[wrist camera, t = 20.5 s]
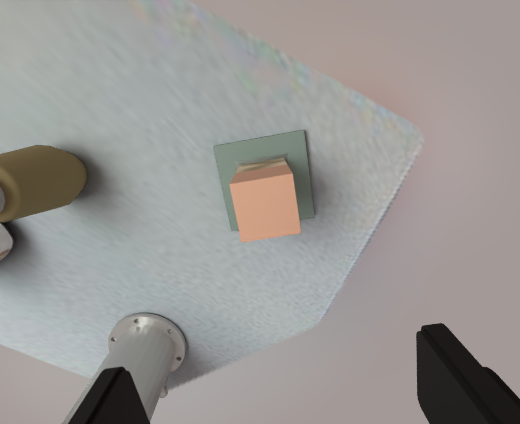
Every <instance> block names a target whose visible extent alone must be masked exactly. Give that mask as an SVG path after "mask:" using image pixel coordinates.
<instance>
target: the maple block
mask: <svg viewBox="0 0 520 424" xmlns="http://www.w3.org/2000/svg"><path fill="white" fill-rule="evenodd" d="M286 164H287V163H286V161H285V159H284V158H281V159H275V160H269V161H264V162H258V163H252V164H246V165H241V166H239V167H238V169H237V171H236V173H240V172H246V171H252V170H258V169H263V168H269V167H275V166H280V165H286Z"/></svg>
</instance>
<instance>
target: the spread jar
mask: <svg viewBox="0 0 520 424" xmlns="http://www.w3.org/2000/svg"><path fill="white" fill-rule="evenodd" d="M13 246H14V237H13V235H12V233H11V231H10V230H9V228H8V227H7V226H6V225H5V224H4V223H3V222H0V260H1V259H3V258H4V257H5V256H7V255H8V254H9V252H10V251H11V250H12V248H13Z"/></svg>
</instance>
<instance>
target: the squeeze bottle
mask: <svg viewBox="0 0 520 424" xmlns="http://www.w3.org/2000/svg"><path fill="white" fill-rule="evenodd" d="M86 181H87V171H86V169H85V167H84V165H83V163H82V162H81V161H80V160H79V159H78V158H77V157H76V156H75V155H73V154H71V153H69V152H66V151H63V150H60V149H57V148H54V147H52V146H44V145H35V146H31V147H27V148H23V149H19V150H15V151H11V152H7V153H3V154H0V222H7V221H11V220H14V219H18V218H22V217H26V216H29V215H33V214H37V213H41V212H44V211H48V210H52V209H55V208H59V207H62V206H65V205H68V204H70V203H71V202H72V201H73V200H74V199H75V198H76V197H77V196H78V194H79V193H80V192H81V190H82V189H83V188H84V186H85V184H86Z"/></svg>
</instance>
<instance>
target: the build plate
mask: <svg viewBox="0 0 520 424" xmlns="http://www.w3.org/2000/svg"><path fill="white" fill-rule="evenodd" d="M213 149H214V154H215V158H216V163H217V167H218V172H219V176H220V181H221V185H222V190H223V195H224V199H225V204H226V208H227V213H228V217H229V222H230V227H231V231H234V230H239V228H238V223H237V219H236V214H235V209H234V204H233V200H232V195H231V190H230V186H229V184H230V182H231V180H232V178H233V176H234V175H235V173H236V171H237V169H238V167H239V166H241V165H246V164H252V163H258V162H264V161H269V160H275V159H281V158H284V159H285V161H286V163H287V165H288V166H289V168H290V170H291V171H292V173H293V180H294V187H295V193H296V200H297V207H298V214H299V220H302V219H308V218H314V217H315V215H314V207H313V199H312V191H311V183H310V175H309V167H308V159H307V151H306V143H305V135H304V130H300V131H294V132H289V133H283V134H278V135H272V136H267V137H261V138H256V139H250V140H244V141H239V142H233V143H228V144H222V145H217V146H213Z"/></svg>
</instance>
